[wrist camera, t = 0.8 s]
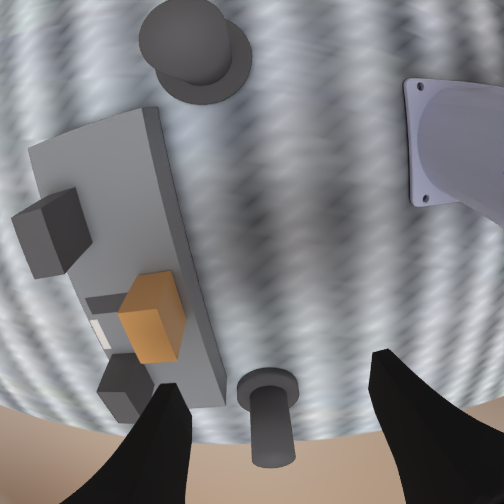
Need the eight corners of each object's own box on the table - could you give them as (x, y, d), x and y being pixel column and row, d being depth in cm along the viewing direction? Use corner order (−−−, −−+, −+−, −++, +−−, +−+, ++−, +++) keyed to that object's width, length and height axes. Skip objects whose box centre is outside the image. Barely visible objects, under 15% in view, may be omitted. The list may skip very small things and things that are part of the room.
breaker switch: (171, 270, 17) (156, 308, 14) (186, 319, 18) (177, 361, 15) (136, 275, 17) (117, 313, 14) (154, 322, 18) (140, 363, 15)
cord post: (295, 363, 24) (309, 437, 18) (299, 401, 26) (310, 468, 20) (231, 372, 24) (230, 446, 18) (243, 408, 26) (244, 476, 20)
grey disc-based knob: (243, 13, 14) (244, -38, 8) (258, 96, 16) (268, 88, 10) (153, 32, 14) (105, -4, 8) (167, 113, 16) (124, 118, 10)
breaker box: (157, 107, 16) (114, 109, 10) (226, 377, 25) (224, 445, 19) (54, 140, 16) (-13, 161, 10) (145, 383, 25) (129, 445, 19)
